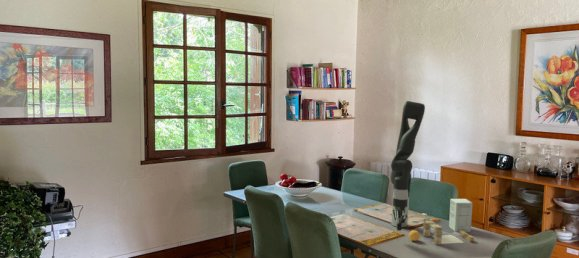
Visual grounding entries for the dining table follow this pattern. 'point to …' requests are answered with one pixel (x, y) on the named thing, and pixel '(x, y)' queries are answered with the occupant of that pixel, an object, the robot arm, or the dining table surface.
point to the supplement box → (460, 215)
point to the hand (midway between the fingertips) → (399, 230)
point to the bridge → (437, 231)
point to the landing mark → (449, 239)
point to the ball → (414, 235)
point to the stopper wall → (466, 236)
